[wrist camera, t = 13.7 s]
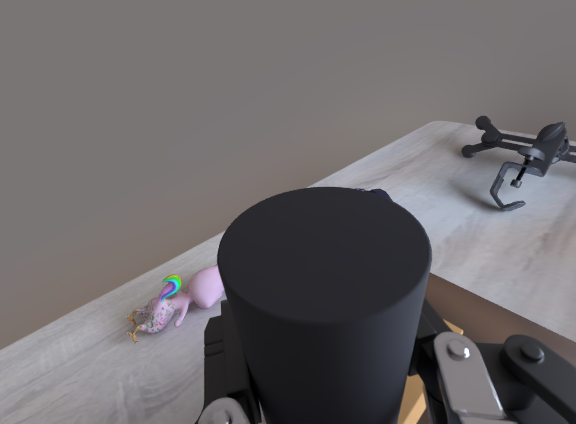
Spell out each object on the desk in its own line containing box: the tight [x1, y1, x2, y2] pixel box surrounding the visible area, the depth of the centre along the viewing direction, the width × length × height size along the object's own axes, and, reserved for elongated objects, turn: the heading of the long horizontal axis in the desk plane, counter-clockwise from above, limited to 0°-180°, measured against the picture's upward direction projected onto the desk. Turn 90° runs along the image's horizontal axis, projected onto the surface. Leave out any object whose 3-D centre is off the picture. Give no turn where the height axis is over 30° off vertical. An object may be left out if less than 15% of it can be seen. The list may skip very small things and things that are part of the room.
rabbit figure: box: [126, 264, 224, 343], centre depth 33 cm, size 6×6×15 cm
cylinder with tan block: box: [217, 187, 463, 424], centre depth 12 cm, size 10×5×13 cm, turn 133°
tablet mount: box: [461, 116, 576, 211], centre depth 46 cm, size 27×14×17 cm
